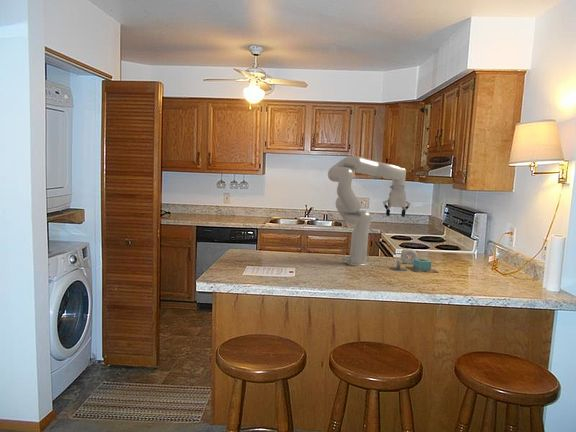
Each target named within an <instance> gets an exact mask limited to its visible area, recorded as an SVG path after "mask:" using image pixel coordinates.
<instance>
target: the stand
mask: <svg viewBox="0 0 576 432" xmlns="http://www.w3.org/2000/svg"><path fill="white" fill-rule="evenodd" d="M401 263H402V260H401V259H397V260H396V266H391V267H388V269H389V270H391V271H395V272H407V271H408V268H403V267H401Z"/></svg>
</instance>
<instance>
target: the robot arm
mask: <svg viewBox="0 0 576 432" xmlns="http://www.w3.org/2000/svg"><path fill="white" fill-rule="evenodd" d="M353 172H357V173H360V174H364V175H367V176H368V175H369V176H374V177H381V178H383V180H392V181H391V185H390V186H389V189H391V190H390V191H389V194H388V198H387V199H386V200H384V201H382V204H383V207H384V208H385V209H386V210H385V215H386V217H390V215H391V214H390V213H391V208H392V207H393V208H401V217H402V218H405V216H406V211H407V210H408V208H410V206H411V203H410V202H409V201H408V200H407V192H406V190H405V186H406V177H407V176H406V175H407V174H406V173H407V169H406V168H405V167H400V166H398V165H394V164H390V163H386V162H381V161H377V160H373V159H369V158H366V157H362V156H355V155H354V156H351V155H350V156H346V157H344V158H342V159H340V160H339V161H338V162H337V163H336V164H334V165H332V166H331V167H330V168H329V170H328V172H327V176H328V179H329V180H330V181H331V182H332V183H333V182H334V183H335V182H336V183H338V184H337V188H336V193H337V196H338V197H337V198H336V200H335V208H336V210H337V212H338V213H339V215H340V216H341V217H342V219H343V221H344V222H345V223H346V224H348V225H350V226H354V227H353V229H352V232H351V239H350V240H351V241H350V251H349V255H348V256H341V260H342V261H345V262H346V264H347V265H349V266H353V267H357V266H367V265H369V264H370V263H369V262H367V255H368V244H369V233H370V227H371V223H372V215H371V214H370V212H368V211H366V210H363V209H361V207H362V205H361V202H360V200H359V198H358V197H357V196H356V194H355V193H354V190H353V189H352V188H353V187H352V182H353V178H354V173H353Z"/></svg>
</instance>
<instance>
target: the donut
mask: <svg viewBox="0 0 576 432" xmlns="http://www.w3.org/2000/svg"><path fill="white" fill-rule="evenodd" d="M408 255H410V256H411V258H409V259H408V258H407V256H408ZM414 259H419V258H418V254H417V251H416V250H414V249H413V248H405V249H404V250H402V252H401V254H400V260H401V263H403V264H406V265H412V266H413V260H414Z"/></svg>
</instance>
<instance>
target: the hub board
mask: <svg viewBox="0 0 576 432" xmlns="http://www.w3.org/2000/svg"><path fill="white" fill-rule="evenodd" d="M419 259H420V260H419V261H425V258H419ZM405 269H407V270H409V271H412V272H414V273H427V274H428V273H434V274H435V273H437V274H439V271H438V270H436V269H433V268H431V271H425V270H417V269H415V268H413V265H412V266H410V265H409V266H407V265H406V266H405Z"/></svg>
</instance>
